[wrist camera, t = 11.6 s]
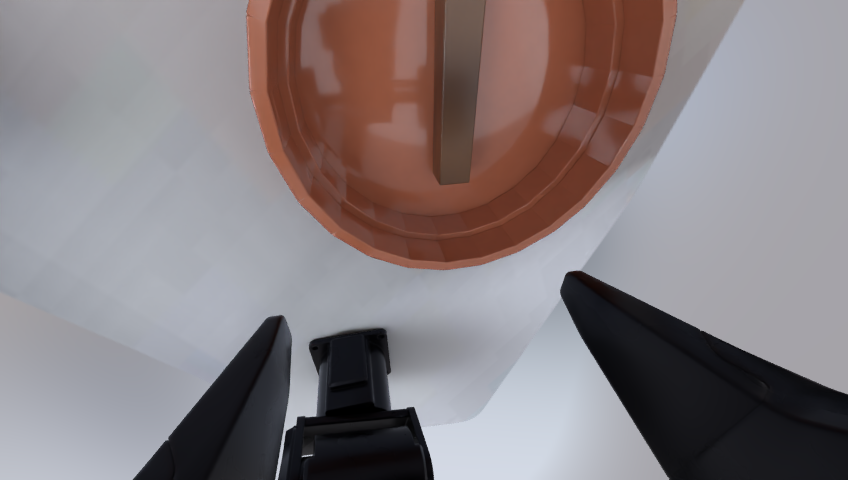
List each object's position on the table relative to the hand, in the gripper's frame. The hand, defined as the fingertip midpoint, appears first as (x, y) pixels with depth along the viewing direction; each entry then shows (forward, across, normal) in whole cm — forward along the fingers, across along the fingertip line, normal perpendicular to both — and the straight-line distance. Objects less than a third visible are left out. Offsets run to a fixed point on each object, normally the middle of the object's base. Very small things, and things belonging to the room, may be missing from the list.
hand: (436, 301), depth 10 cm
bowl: (+11, -3, -4) cm, 12 cm away
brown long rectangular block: (+11, -3, -4) cm, 12 cm away
